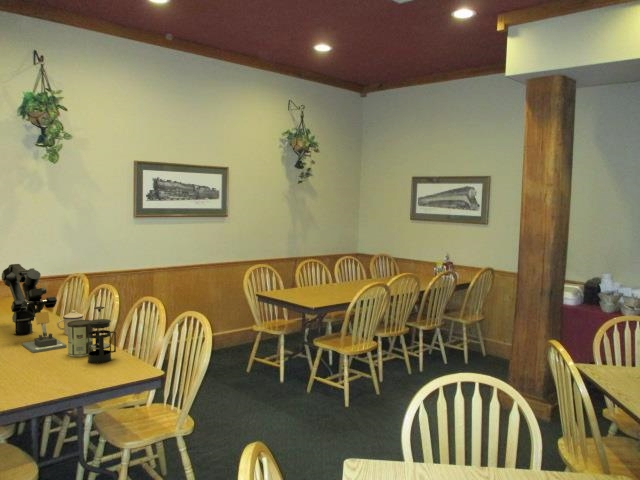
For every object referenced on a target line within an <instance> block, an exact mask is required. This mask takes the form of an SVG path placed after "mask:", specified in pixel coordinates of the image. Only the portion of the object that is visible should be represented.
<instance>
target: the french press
mask: <svg viewBox="0 0 640 480" xmlns="http://www.w3.org/2000/svg"><path fill="white" fill-rule="evenodd" d="M102 309H103V310H104V309H105V307H104V306H95V307H94V310H97V311H98V318H97V319H91V321H88V324H90V325H91V326H92V327H93V329H98V330H93V331H92V332H89V333H88V355H87V363H89V364H95V365H96V364H97V365H99V364H105V363H106V364H107V363H108V362H111V361H112V353H113V354H114V353H116V352H117V350H116V349H117V346H116V345H117V343H116V342H117V340H116V339H117V337H116V336H117V334H116V331H115V330H114V331H113V330H112V331H111V330H105V329H106V328H108V327H110V323H111V321H112V320H111V319H107V318H101V311H102ZM92 334H93V335H92ZM112 334H113V336H114V337H113V340H114V341H113V343H114V344H113V346H114V347H113V348H114V349H113V350H112ZM89 338H93V339H95V343H93V344H92V345H90V346H89ZM105 338H109V343H108V342H105V341H104V340H105ZM89 348H90V349H93V351H91V352H89ZM108 348H109V349H108ZM107 349H108V350H107Z"/></svg>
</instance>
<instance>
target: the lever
mask: <svg viewBox="0 0 640 480" xmlns="http://www.w3.org/2000/svg"><path fill="white" fill-rule="evenodd" d="M34 318H35V322H36V323H35V324H36V325H41V331H42V337H46V336H48V333H47V327H46V326H47V325H46V324H49V323H50V316H49V311H41V312H40V313H36V314H35V317H34Z"/></svg>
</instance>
